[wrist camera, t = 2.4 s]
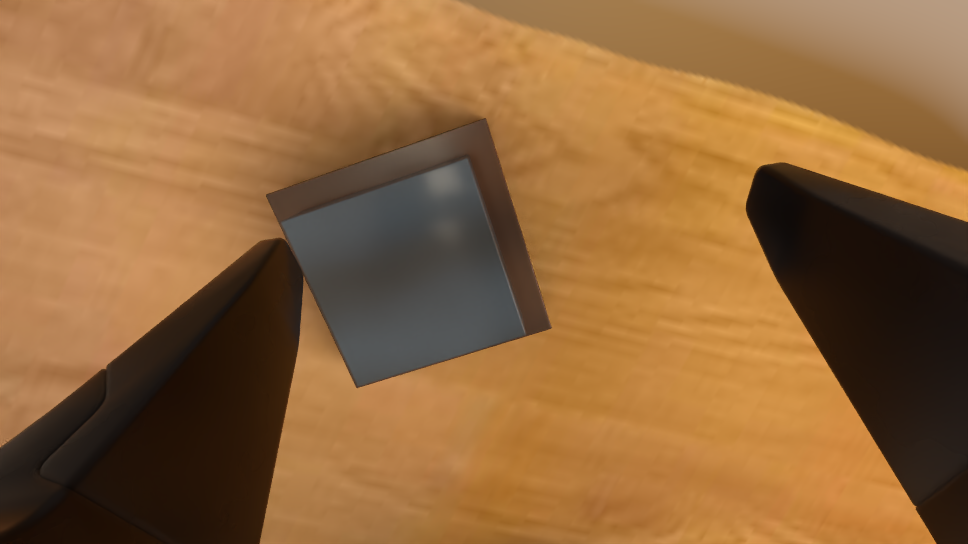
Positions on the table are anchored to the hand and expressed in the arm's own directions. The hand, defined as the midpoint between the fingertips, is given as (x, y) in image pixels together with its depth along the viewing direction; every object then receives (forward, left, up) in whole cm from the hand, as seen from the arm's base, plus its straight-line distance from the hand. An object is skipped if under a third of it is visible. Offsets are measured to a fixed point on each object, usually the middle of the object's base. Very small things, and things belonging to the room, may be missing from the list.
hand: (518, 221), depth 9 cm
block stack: (-5, +4, -16) cm, 17 cm away
